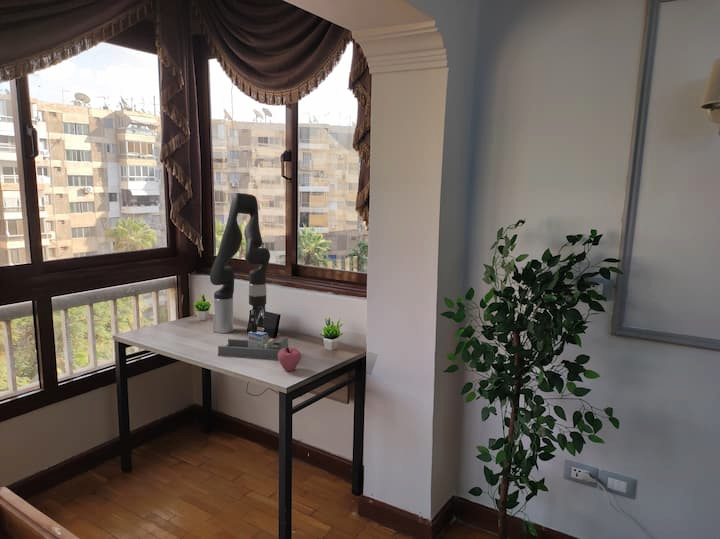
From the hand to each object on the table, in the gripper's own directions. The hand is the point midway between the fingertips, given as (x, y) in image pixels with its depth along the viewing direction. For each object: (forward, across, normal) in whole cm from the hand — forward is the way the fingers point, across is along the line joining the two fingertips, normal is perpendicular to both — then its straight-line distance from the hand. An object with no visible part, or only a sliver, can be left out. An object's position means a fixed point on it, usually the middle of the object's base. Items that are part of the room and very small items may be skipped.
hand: (257, 329), depth 233 cm
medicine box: (+10, 0, 0) cm, 10 cm away
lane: (+11, 0, -2) cm, 11 cm away
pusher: (+9, 0, +7) cm, 12 cm away
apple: (+11, +18, +19) cm, 29 cm away
